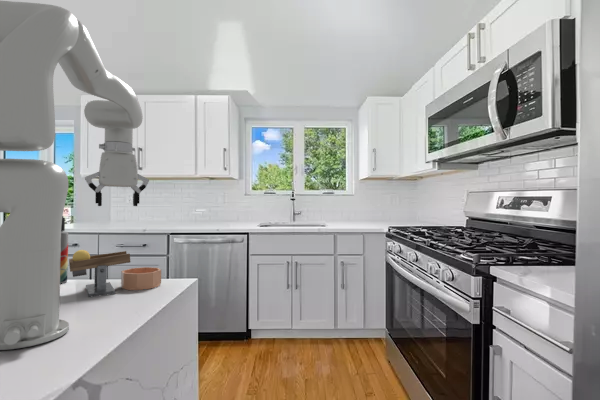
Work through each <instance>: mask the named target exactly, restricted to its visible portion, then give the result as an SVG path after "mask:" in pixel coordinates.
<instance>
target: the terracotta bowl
mask: <svg viewBox="0 0 600 400" xmlns="http://www.w3.org/2000/svg"><path fill="white" fill-rule="evenodd" d="M120 274H121V275H120V281H121V282H120V284H121V287H120V288H121V289H122V290H124V289H125V291H143V289H146V290H152V289H155V287H156V288H158V286H159V287H161V284H162V269H160V268H159V267H147V266H145V267H144V266H143V267H142V266H141V267H134V268H133V267H132V268H128V269H123V270H121V273H120ZM151 288H152V289H151Z"/></svg>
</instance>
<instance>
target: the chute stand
mask: <svg viewBox="0 0 600 400" xmlns="http://www.w3.org/2000/svg"><path fill="white" fill-rule="evenodd" d="M107 267H108V266H107V265H98V268H94V283H91V284H85V289H86V293H87V297H88V298H92V297H91V296H93V297H100V296H99V295H101V296H108V295H107V294H110V295H115V294H116V289H115V288H114V287H113V285H112V284H111V282H110V281H107Z"/></svg>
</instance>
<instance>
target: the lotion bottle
mask: <svg viewBox="0 0 600 400" xmlns="http://www.w3.org/2000/svg"><path fill="white" fill-rule="evenodd" d="M65 229H66V218H65V217H64V215H63V216H62V225H61V257H60V285H62V284H61V283H63V284H66V283H67V282H68V274H69V273H68V272H69V271H68V270H69V269H68V267H69V232H68V231H65ZM65 282H66V283H65Z"/></svg>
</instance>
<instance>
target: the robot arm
mask: <svg viewBox="0 0 600 400" xmlns="http://www.w3.org/2000/svg"><path fill="white" fill-rule="evenodd" d="M58 64H59V66H60V67H61V69H62V71H63V72H64V74H65V76H66V77H67V79H68V81H69V82H70V84H71V85H72V86H73V87H74V88H76V89H77V90H79V91H82V92H84V93H86V94H89V95H91V96H94V97H98V98H100V100H99V99H96V100H91V101H89V102H87V103H86V105H85V106H84V109H83V110H84V111H83V112H84V113H83V115H84V117H85V119H86V121H87V122H88V123H89V124H90V125H91V126H93V127H95V128H100V129H104V142H103V143H102V144H101V143H99V144H98V149H101V150H103V152H101V155H100V161H99V170H98V172H97V171H96V172H95V173H92V174H89V175H87V176H85V177H84V180H85V182H86V184H87V185H88V187H89V188H90V189H91V190H93V191H94V192H95V200H94V201H95V204H97V207H101V206H102V205H103V204H102V202H103V198H102V197H103V195H102V194H103V193H102V191H101V190H102V189H104V188H105V187H111V188H112V187H114V188H118V187H119V188H121V187H122V188H131V189H132V190H133V194H132V200H133V201H132V206H133V207H138V204H140V194H141V192H142V191H144V190H145V189H146V187H147V186H148V184H149V183H150V180H149V179H148V178H146V177H145V176H143V175H141V174H139V173H138V164H137V158H136V157H137V156H136V154H133V142H134V141H133V139H134V138H133V135H134V133H133V129H134V130H135V129H137V128H140V126H141V125H142V123H143V119H144V118H143V111H142V106H141V105H140V102H139V100H138V98H137V95H136V93H135V92H134V90H133V88H132V87H131V86H129V85H128V84H127V83H125V82H124V81H123V80H122V79H120V78H119V77H118V76H116V75H115V74H113V73H111V72H110V71H108V70H107V69H106V68H105V65H104V63H103V61H102V59H101V57H100V55H99V52H98V50H97V49H96V46H95V44H94V41H93V40H92V38H91V35H90V33H89V31H88V29H87V28H86V26H85V25H84V23H82V22H81V20H79V19H77V18H76V16H75V15H74V14H73V12H71V11H70V10H68V9H66V8H64V7H61V6H58V5H52V4H46V3H38V2H37V3H36V2H27V1H12V0H0V152H3V151H4V152H6V151H7V152H40V151H44V150H48V149H49V148H50V147H51V146H52V145H53V144H54V142H55V137H56V115H55V112H56V111H55V98H54V97H55V95H54V93H55V92H54V74H55V70H56V68H57V65H58ZM101 99H103V100H101ZM96 178H98V186H96V185H95V184H94V183H93V179H96ZM138 181H141V182H142V183H141V185H140V186H138V183H139V182H138ZM68 191H69V179H68V175H67V172H66V171H64V169H63V168H62V167H61V166H59V165H58V164H56V163H54V162H52V161H48V160H43V159H34V158H33V159H32V158H0V213H6V214H9V215H8V216H7V217H6V219H5V220H4V221H3V222H2V223H1V224H0V351H6V350H7V351H8V350H9V351H10V350H16V349H24V348H29V347H34V346H37V345H41V344H45V343H47V342H51V341H54V340H56V339H58V338H61V337H62V336H64V335H65V334H66V333H68V331H69V330H70V329H69V328H70V323H69V322H68V321H67V320H65V319H60V301H61V300H60V298H61V297H60V291H61V284H60V257H61V225H62V216H64V209H65V204H66V202H67V196H68Z"/></svg>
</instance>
